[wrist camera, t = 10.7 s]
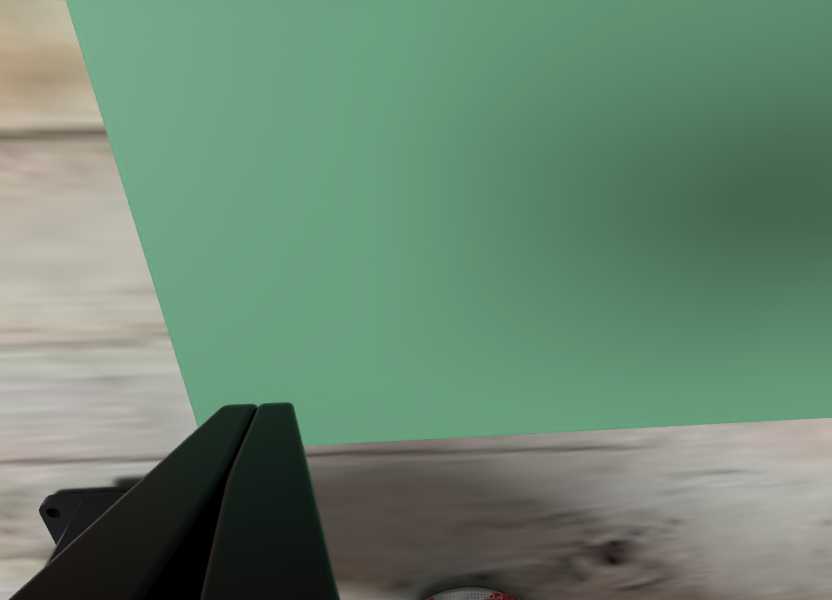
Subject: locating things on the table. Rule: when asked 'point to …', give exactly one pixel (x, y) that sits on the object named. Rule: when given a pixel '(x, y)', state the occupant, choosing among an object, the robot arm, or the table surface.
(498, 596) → the soda can
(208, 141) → the block
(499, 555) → the table surface
